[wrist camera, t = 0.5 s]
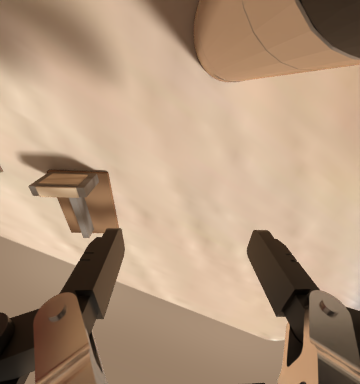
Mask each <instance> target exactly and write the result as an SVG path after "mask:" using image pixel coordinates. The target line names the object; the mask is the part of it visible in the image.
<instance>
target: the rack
mask: <svg viewBox="0 0 360 384" xmlns="http://www.w3.org/2000/svg"><path fill="white" fill-rule="evenodd" d="M29 188H30V190H31V192H32V194H33V196H40V197H57V198H58V201H59V203H60V205H61V208H62V210H63V213H64V215H65V218H66V220H67V223H68V225H69V227H70V230H71V232H72V233H82V235H83V238H89V237H90V236H91V234H92V233H104V232H105V231H106V229H107V228H119V226H118V221H117V216H116V210H115V205H114V200H113V195H112V190H111V184H110V179H109V174H108V172H89V171H62V170H48V171H47V174H46V175H44V176H43V177H41V178H40V179H38V180H37V181H35V182H34V183H32V184H31V185H29Z"/></svg>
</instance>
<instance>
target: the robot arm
mask: <svg viewBox="0 0 360 384" xmlns="http://www.w3.org/2000/svg"><path fill="white" fill-rule="evenodd" d="M193 34H194V45H195V49H196V54H197V57H198V59H199V61H200V63H201V65H202V66H203V68H204V69H205V71H206V72H207V73H208V74H210V75H211V76H212V77H213V78H215V79H217V80H219V81H224V82H240V81H245V80H252V79H259V78H266V77H274V76H281V75H288V74H295V73H303V72H310V71H317V70H324V69H331V68H338V67H346V66H353V65H360V0H199V3H198V7H197V11H196V15H195V20H194V31H193ZM124 251H125V246H124V240H123V235H122V230H121V228H107V229H106V231H105V232H104V234H103V236H102V237H96V238H95V239H94V240H93V241H92V242H91V243H90V244H89V245H88V247H87V248H86V250H85V252H84V254H83V255H82V257H81V258H80V261H79V262H78V264H77V265H76V267H75V269H74V270H73V272H72V274H71V276H70V277H69V279H68V281H67V282H66V284H65V286H64V287H63V289H62V290H61V292H60V293H59V294H58V295H56V296H54V297H52V298H51V299H49V300H48V301H47V302H46V303H44V304H43V305H42V306H41V308H40V309H37V310H34V311H31V312H28V313H25V314H22V315H19V316H15V317H12V318H9V317H8V316H7V315H6V314H4V313H0V384H24V383H25V381H26V379H27V377H28V375H29V373H30V372H33V371H35V384H108V382H107V380H106V377H105V374H104V370H103V367H102V363H101V360H100V356H99V353H98V349H97V345H96V342H95V338H94V335H93V331H92V328H93V326H94V323H95V320H96V319H104V316H105V313H106V310H107V307H108V304H109V301H110V297H111V294H112V291H113V288H114V285H115V282H116V279H117V276H118V273H119V270H120V266H121V263H122V260H123V257H124ZM247 255H248V258H249V260H250V262H251V264H252V266H253V269H254V271H255V273H256V275H257V277H258V279H259V281H260V283H261V285H262V287H263V290H264V292H265V294H266V296H267V298H268V300H269V302H270V304H271V306H272V308H273V311H274V313H275V315H276V317H286V319H287V320H288V323H287V326H286V335H285V345H284V354H283V364H282V370H281V373H280V375H279V378H278V381H277V384H360V311H358V310H354V309H351V308H348V307H345V306H344V305H343V304H342V303H341V302H340V301H339V300H338V299H337V298H335V297H334V296H332V295H330V294H329V293H326V292H324V291H320V290H319V288H318V287H317V286H316V285H315V283H314V282H313V281H312V279H311V278H310V277H309V275H308V274H307V273H306V272H305V270H304V269H303V268H302V266H301V265H300V264H299V263H298V262H297V260H296V259H295V257H294V256H293V255H292V253H291V252H290V251H289V250H288V248H287V247H286V246H285V245H284V244H283V243H281V242H280V241H279V240H278V239H274V237H273V236H272V235H271V233H270V232H269V231H268V230H254V231H253V233H252V235H251V238H250V241H249V244H248V247H247ZM255 384H265V383H255Z"/></svg>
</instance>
